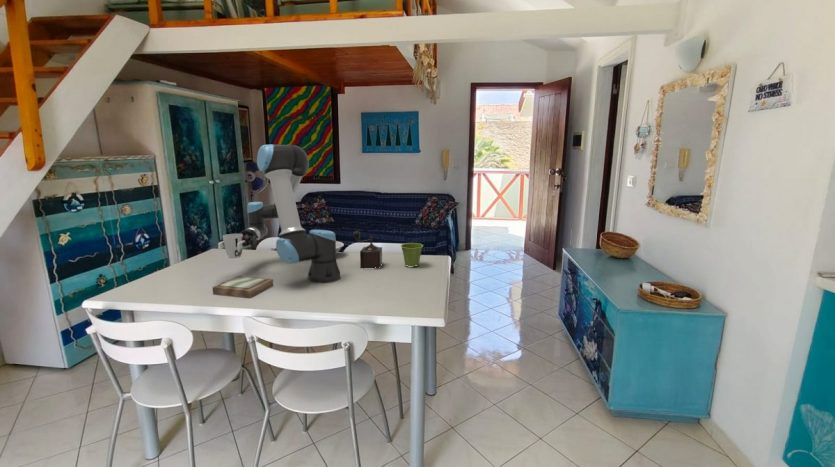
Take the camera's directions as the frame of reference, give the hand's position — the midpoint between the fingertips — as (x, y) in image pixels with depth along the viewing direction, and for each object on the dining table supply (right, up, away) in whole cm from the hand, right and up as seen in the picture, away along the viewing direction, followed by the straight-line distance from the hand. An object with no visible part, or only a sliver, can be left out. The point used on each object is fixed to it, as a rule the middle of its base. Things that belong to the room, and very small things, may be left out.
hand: (228, 246), depth 173 cm
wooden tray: (+7, -19, -1) cm, 20 cm away
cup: (0, -5, +6) cm, 8 cm away
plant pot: (+80, -12, +37) cm, 89 cm away
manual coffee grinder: (+56, -12, +37) cm, 68 cm away
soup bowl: (+28, -8, +56) cm, 63 cm away
